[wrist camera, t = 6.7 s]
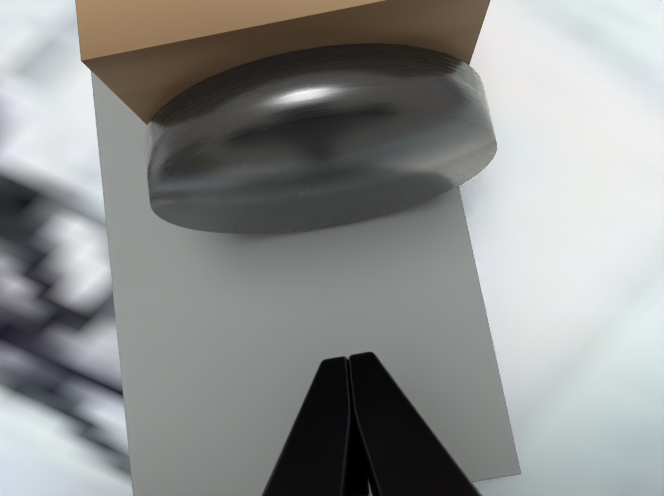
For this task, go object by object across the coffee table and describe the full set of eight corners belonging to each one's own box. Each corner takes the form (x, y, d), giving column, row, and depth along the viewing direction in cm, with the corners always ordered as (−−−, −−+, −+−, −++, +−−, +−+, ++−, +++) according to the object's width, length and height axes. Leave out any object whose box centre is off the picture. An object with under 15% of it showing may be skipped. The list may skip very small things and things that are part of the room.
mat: (517, 470, 15) (521, 473, 15) (143, 530, 15) (137, 535, 15) (377, -175, 19) (377, -186, 18) (78, -112, 19) (72, -122, 19)
